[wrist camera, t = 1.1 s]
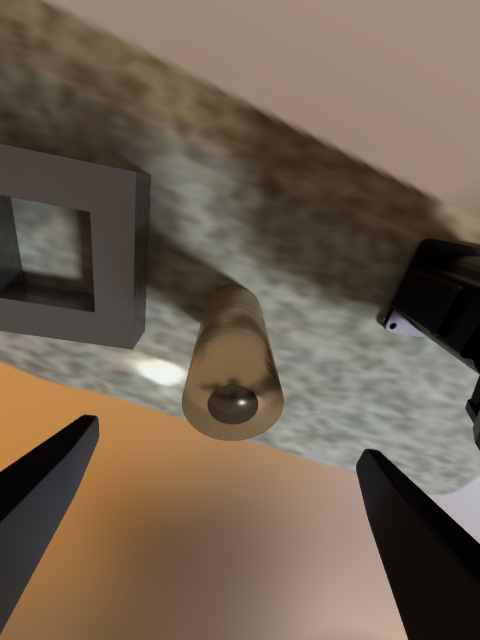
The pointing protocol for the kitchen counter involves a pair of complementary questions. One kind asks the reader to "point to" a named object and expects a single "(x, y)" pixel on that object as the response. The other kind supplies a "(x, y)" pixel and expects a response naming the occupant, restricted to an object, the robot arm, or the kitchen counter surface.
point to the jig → (107, 249)
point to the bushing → (232, 370)
